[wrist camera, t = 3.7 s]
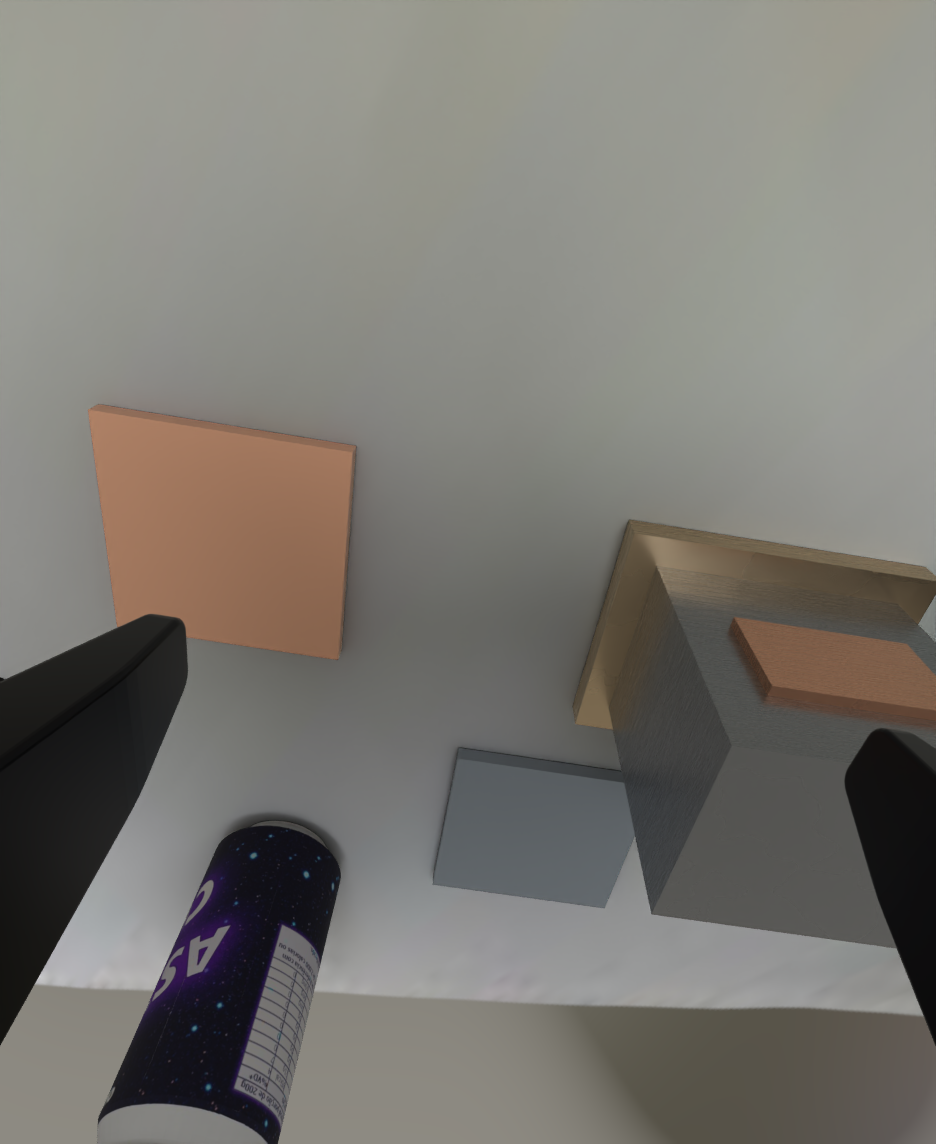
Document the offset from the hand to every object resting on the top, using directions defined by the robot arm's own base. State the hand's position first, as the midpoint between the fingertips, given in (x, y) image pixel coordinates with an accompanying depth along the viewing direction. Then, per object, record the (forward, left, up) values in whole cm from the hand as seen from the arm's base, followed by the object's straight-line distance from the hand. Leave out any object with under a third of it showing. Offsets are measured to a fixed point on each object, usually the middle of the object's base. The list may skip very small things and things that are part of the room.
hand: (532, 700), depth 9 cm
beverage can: (+7, +22, -13) cm, 26 cm away
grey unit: (-9, +7, -13) cm, 17 cm away
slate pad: (-4, +18, -13) cm, 23 cm away
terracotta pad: (+9, +6, -13) cm, 17 cm away
